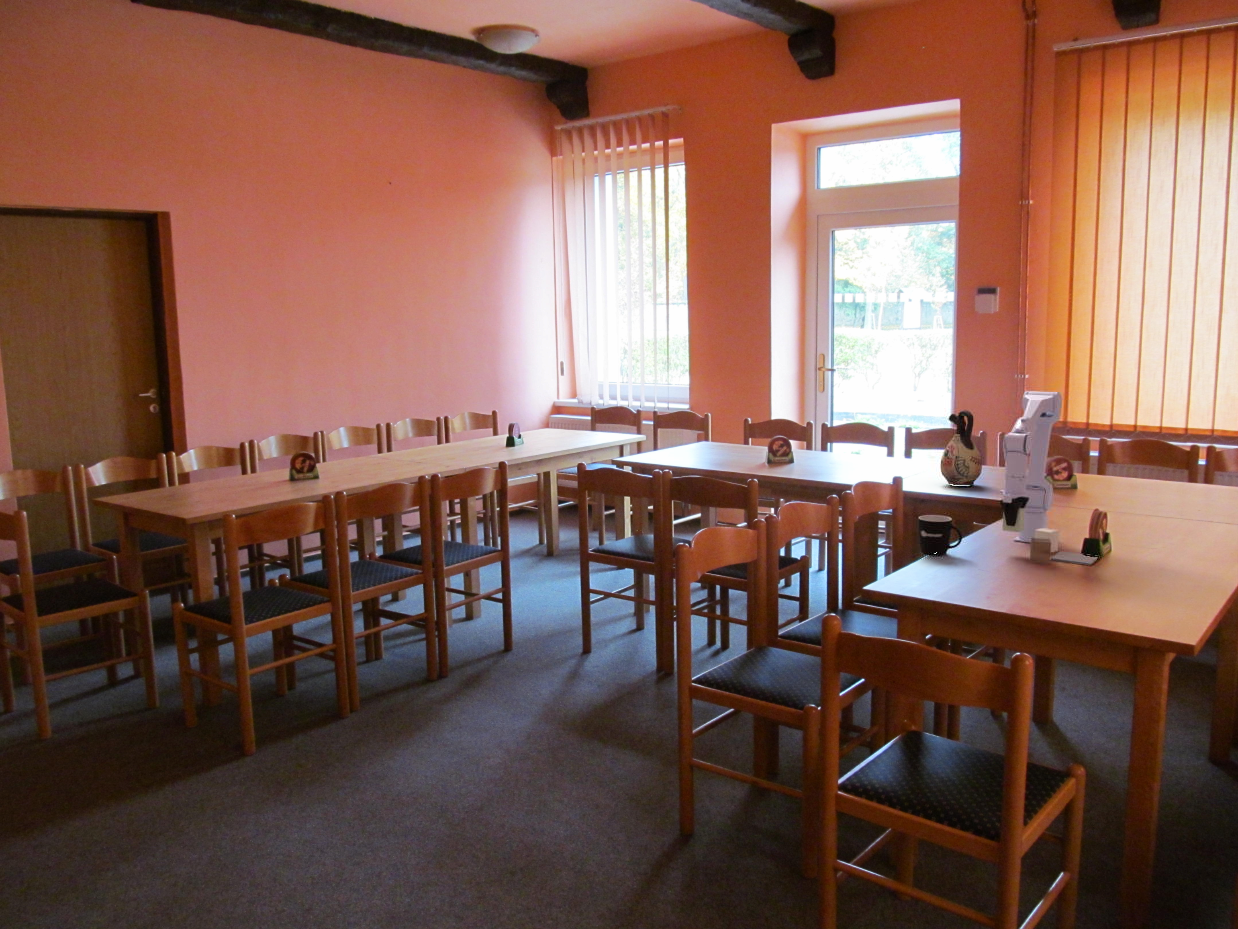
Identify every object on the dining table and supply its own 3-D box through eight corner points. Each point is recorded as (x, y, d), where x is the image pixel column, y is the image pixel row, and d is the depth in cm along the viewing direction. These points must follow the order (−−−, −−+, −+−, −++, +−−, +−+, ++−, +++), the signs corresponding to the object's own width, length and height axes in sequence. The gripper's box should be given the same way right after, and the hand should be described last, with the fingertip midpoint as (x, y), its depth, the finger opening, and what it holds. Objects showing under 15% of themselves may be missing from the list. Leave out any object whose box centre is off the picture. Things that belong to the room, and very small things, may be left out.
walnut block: (1030, 559, 269) (1031, 537, 268) (1047, 560, 267) (1049, 538, 266) (1031, 563, 264) (1032, 541, 264) (1049, 564, 263) (1051, 542, 262)
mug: (912, 554, 275) (914, 519, 274) (922, 548, 282) (923, 513, 281) (956, 560, 268) (958, 523, 267) (965, 553, 276) (966, 518, 274)
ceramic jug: (931, 483, 390) (934, 408, 385) (964, 481, 394) (967, 407, 390) (958, 490, 374) (961, 412, 369) (992, 488, 378) (995, 410, 374)
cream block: (1042, 548, 281) (1043, 527, 280) (1057, 551, 278) (1058, 530, 277) (1034, 550, 278) (1035, 529, 278) (1049, 553, 275) (1050, 532, 274)
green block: (1007, 527, 278) (1008, 506, 277) (1023, 529, 275) (1024, 508, 275) (1002, 530, 275) (1003, 509, 274) (1019, 532, 272) (1020, 511, 271)
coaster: (1060, 553, 275) (1060, 551, 275) (1099, 558, 269) (1099, 556, 269) (1050, 560, 267) (1050, 558, 267) (1090, 565, 261) (1090, 563, 261)
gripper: (1008, 471, 281) (1006, 518, 283) (992, 478, 270) (990, 526, 272) (1034, 473, 277) (1032, 520, 279) (1019, 480, 265) (1017, 530, 267)
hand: (1013, 524), depth 275 cm, fingers closed on green block, 4 cm apart
